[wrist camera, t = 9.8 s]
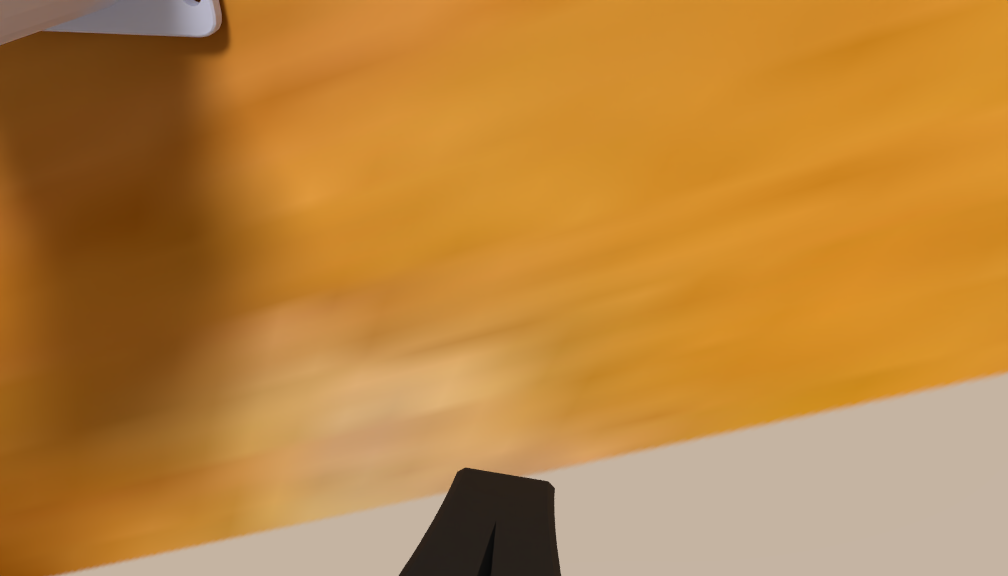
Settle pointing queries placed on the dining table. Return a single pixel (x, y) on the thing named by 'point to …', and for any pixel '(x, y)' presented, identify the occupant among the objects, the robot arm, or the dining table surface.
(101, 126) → the dining table surface
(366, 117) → the dining table surface
